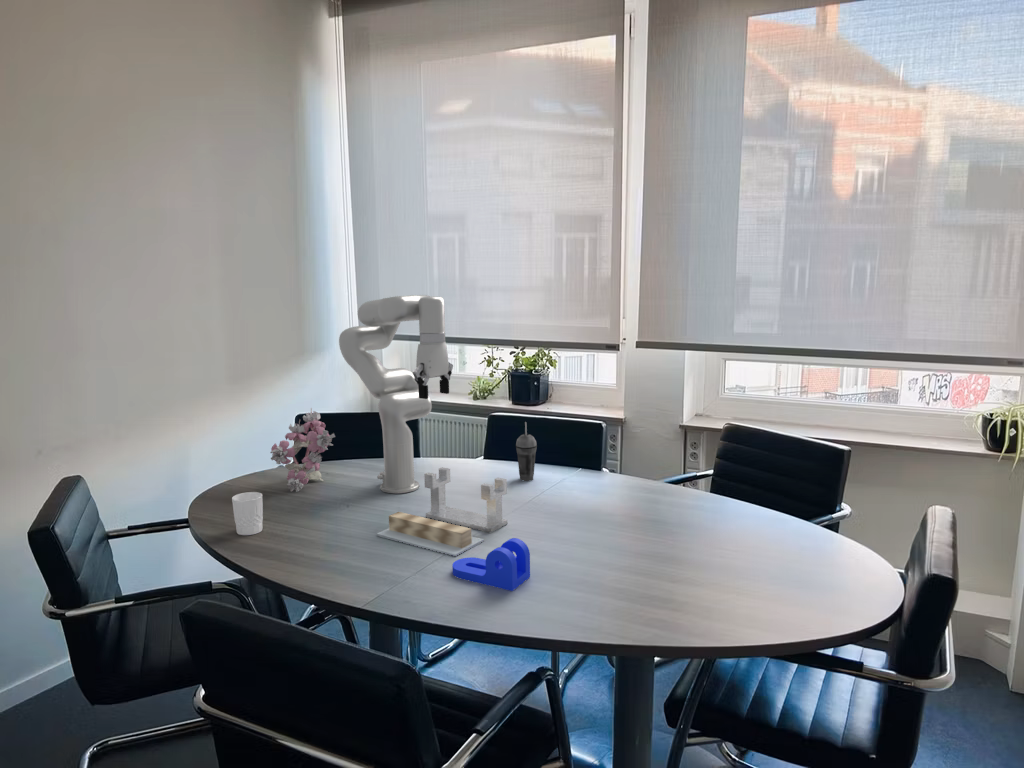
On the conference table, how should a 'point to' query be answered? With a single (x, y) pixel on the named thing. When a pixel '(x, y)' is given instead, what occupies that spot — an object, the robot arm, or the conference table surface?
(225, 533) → the conference table surface
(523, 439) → the beverage cup
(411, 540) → the mat
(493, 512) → the rail stand
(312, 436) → the flower
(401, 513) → the rail
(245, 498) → the white cup
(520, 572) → the bracket
